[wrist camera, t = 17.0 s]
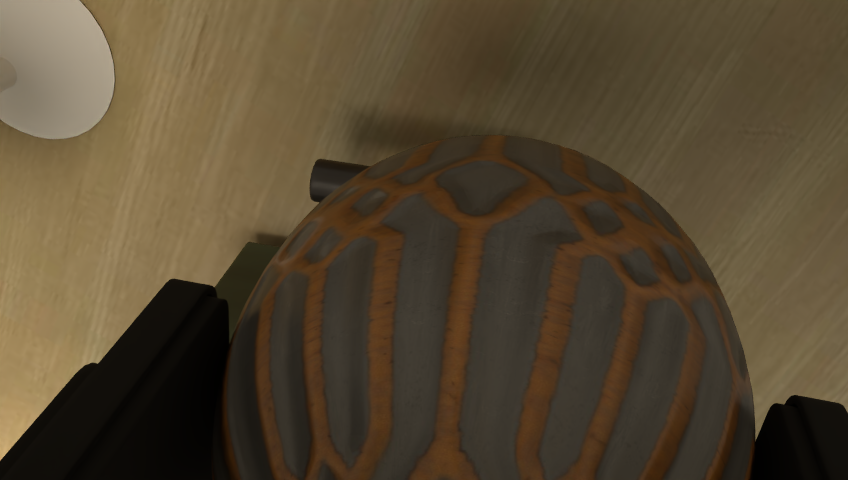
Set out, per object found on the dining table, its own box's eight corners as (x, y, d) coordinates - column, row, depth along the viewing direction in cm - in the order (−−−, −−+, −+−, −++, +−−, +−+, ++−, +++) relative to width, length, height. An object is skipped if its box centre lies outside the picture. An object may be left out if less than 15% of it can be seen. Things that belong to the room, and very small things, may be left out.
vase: (771, 350, 14) (991, 995, 7) (434, 460, 17) (313, 1014, 9) (600, -4, 12) (639, 363, 4) (239, 187, 14) (-142, 630, 7)
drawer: (244, 105, 30) (155, 190, 23) (643, 164, 28) (662, 272, 22) (252, 525, 41) (193, 660, 34) (539, 583, 39) (533, 734, 33)
